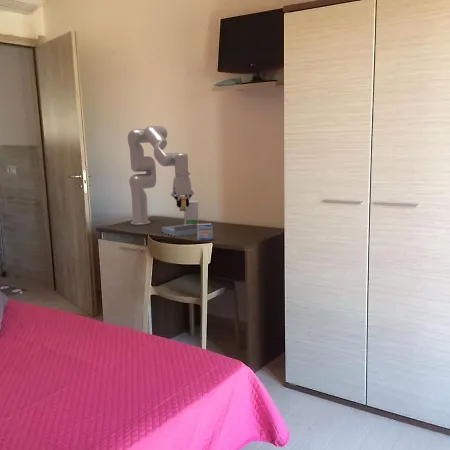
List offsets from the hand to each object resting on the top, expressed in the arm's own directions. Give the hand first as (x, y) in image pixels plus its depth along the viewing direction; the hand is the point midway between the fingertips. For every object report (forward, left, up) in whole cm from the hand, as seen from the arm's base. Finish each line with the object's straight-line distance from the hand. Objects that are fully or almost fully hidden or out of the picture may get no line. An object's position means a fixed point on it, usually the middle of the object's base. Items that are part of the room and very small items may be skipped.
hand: (183, 206), depth 299 cm
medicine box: (+25, 0, -16) cm, 29 cm away
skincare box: (-16, +14, -16) cm, 26 cm away
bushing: (0, 0, -2) cm, 2 cm away
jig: (0, 0, -15) cm, 15 cm away
